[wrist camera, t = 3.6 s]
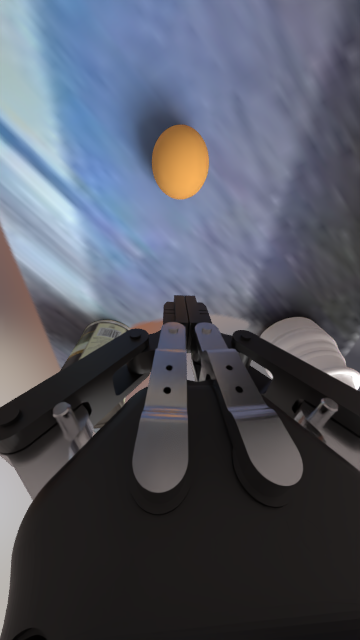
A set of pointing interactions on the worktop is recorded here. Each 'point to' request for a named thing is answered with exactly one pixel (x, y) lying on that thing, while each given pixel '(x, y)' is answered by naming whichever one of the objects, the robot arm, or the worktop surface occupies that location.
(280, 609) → the robot arm
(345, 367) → the honey pot
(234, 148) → the worktop surface
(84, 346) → the coffee can
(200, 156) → the ball
